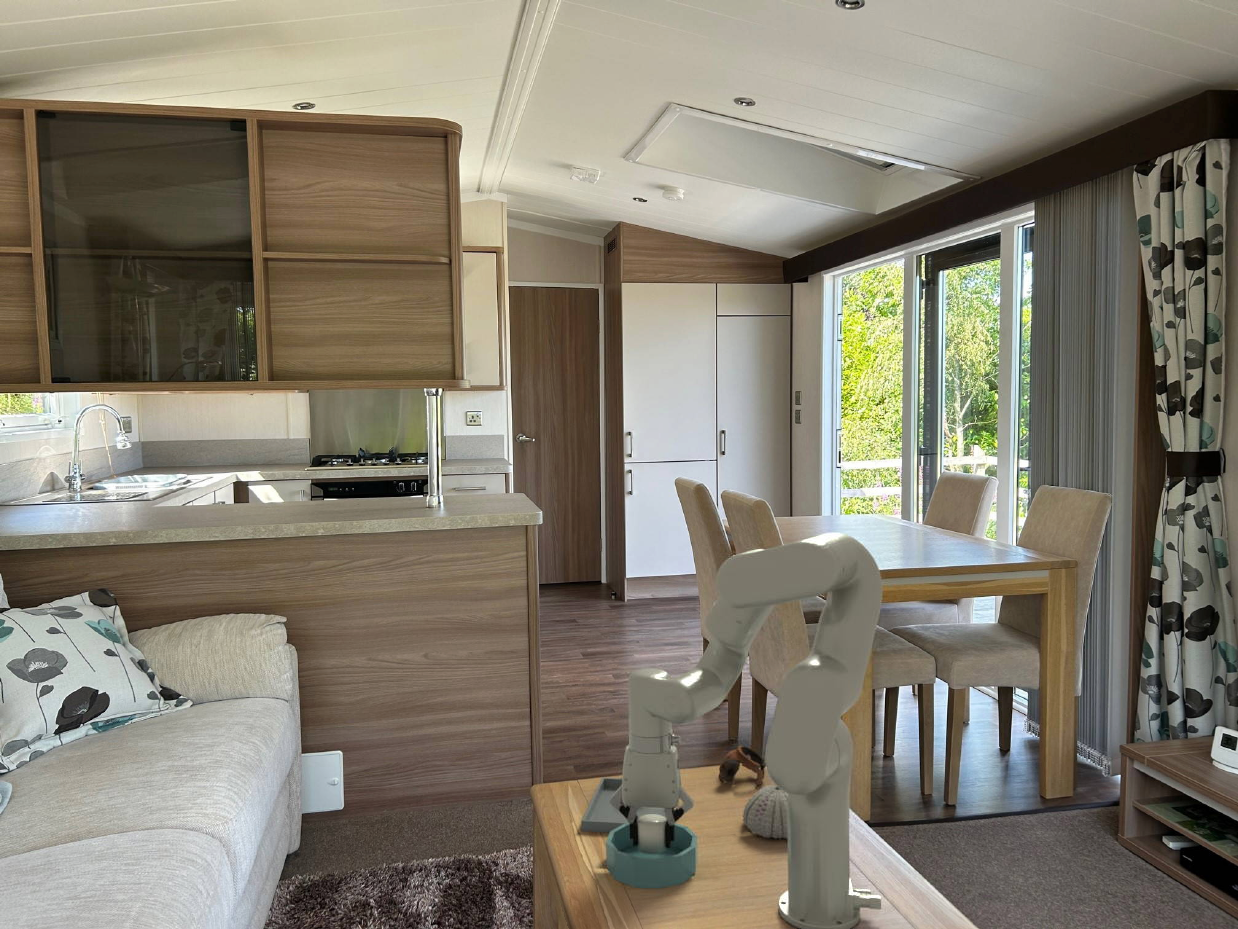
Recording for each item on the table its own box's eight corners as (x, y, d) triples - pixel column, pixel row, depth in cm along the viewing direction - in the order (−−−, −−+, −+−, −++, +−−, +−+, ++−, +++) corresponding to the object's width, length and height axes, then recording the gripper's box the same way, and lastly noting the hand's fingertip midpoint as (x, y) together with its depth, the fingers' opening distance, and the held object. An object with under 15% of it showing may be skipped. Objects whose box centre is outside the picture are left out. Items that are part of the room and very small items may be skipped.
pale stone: (668, 841, 161) (668, 815, 160) (665, 855, 155) (665, 827, 155) (639, 840, 161) (639, 813, 161) (635, 853, 156) (635, 826, 156)
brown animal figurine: (728, 771, 204) (746, 741, 203) (758, 799, 198) (778, 768, 197) (700, 773, 195) (719, 742, 194) (732, 803, 189) (752, 771, 188)
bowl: (700, 848, 165) (699, 822, 165) (693, 891, 150) (692, 862, 149) (615, 843, 168) (615, 818, 167) (600, 885, 152) (600, 857, 152)
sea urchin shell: (728, 828, 173) (727, 787, 173) (773, 809, 182) (773, 769, 182) (783, 852, 163) (782, 808, 163) (828, 830, 172) (827, 788, 172)
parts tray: (676, 792, 191) (676, 780, 191) (664, 838, 169) (664, 825, 169) (602, 789, 194) (602, 777, 193) (581, 834, 172) (581, 821, 172)
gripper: (700, 736, 160) (702, 837, 161) (606, 732, 163) (608, 832, 163) (697, 750, 153) (699, 856, 153) (598, 746, 156) (600, 850, 156)
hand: (652, 842), depth 158 cm, fingers closed on pale stone, 5 cm apart
